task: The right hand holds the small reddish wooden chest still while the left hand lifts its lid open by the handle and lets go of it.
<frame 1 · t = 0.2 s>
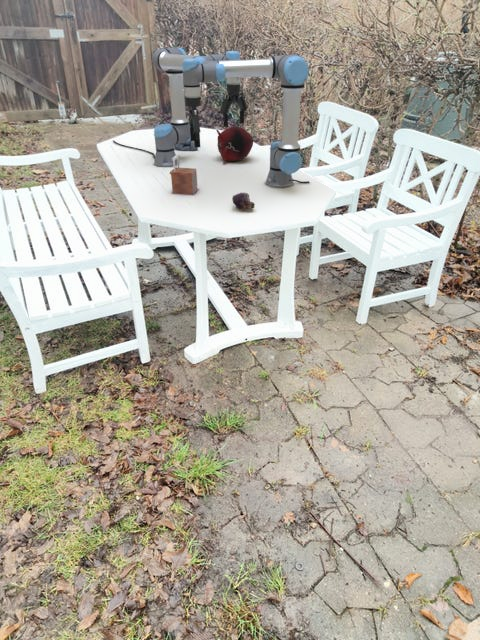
left hand: (234, 125, 259), 28 cm above the table, tool pointing down, fingers open, 13 cm apart
right hand: (195, 144, 223), 28 cm above the table, tool pointing down, fingers open, 13 cm apart
chest: (185, 191, 249), on the table
decorative skull: (234, 159, 302), on the table
rock: (242, 209, 226), on the table
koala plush: (186, 148, 327), on the table
lid: (182, 164, 241), point 15 cm above the table, hinge at 0.0°
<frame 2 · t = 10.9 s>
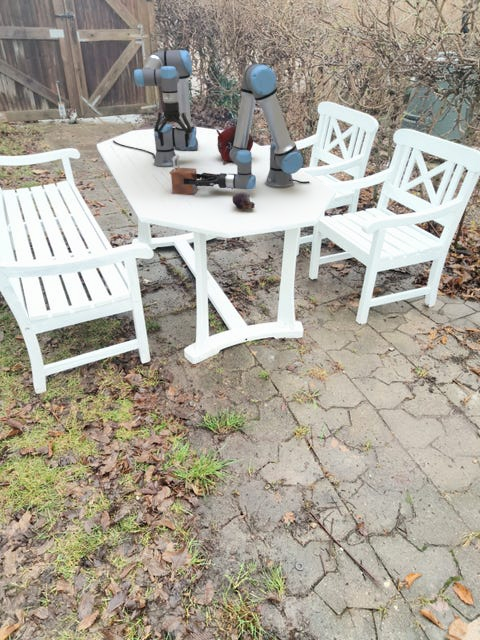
left hand: (174, 146, 236), 24 cm above the table, tool pointing down, fingers open, 13 cm apart
right hand: (186, 178, 245), 7 cm above the table, tool horizontal, fingers closed on chest, 9 cm apart
chest: (185, 191, 249), on the table, touching right hand
everything else where it was.
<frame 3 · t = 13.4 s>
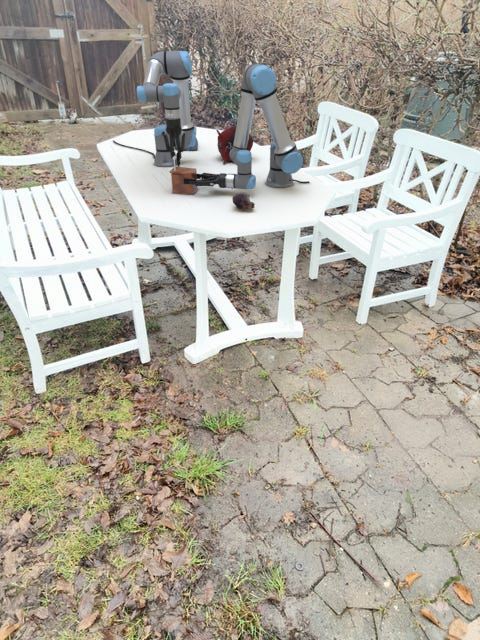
left hand: (176, 165, 242), 14 cm above the table, tool pointing down, fingers closed on lid, 2 cm apart
right hand: (186, 178, 245), 7 cm above the table, tool horizontal, fingers closed on chest, 9 cm apart
chest: (185, 191, 249), on the table, touching right hand
lid: (183, 163, 240), point 15 cm above the table, hinge at 2.5°, touching left hand
everything else where it was.
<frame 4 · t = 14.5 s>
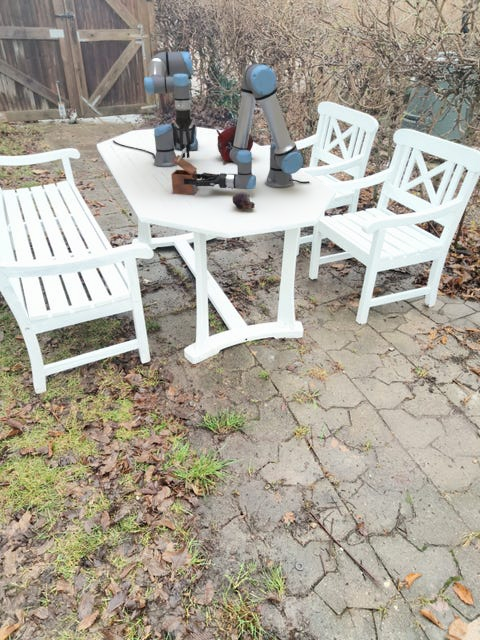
left hand: (186, 157, 238), 18 cm above the table, tool pointing down, fingers closed on lid, 2 cm apart
right hand: (186, 178, 245), 7 cm above the table, tool horizontal, fingers closed on chest, 9 cm apart
chest: (185, 191, 249), on the table, touching right hand
lid: (188, 159, 238), point 18 cm above the table, hinge at 34.8°, touching left hand
everything else where it was.
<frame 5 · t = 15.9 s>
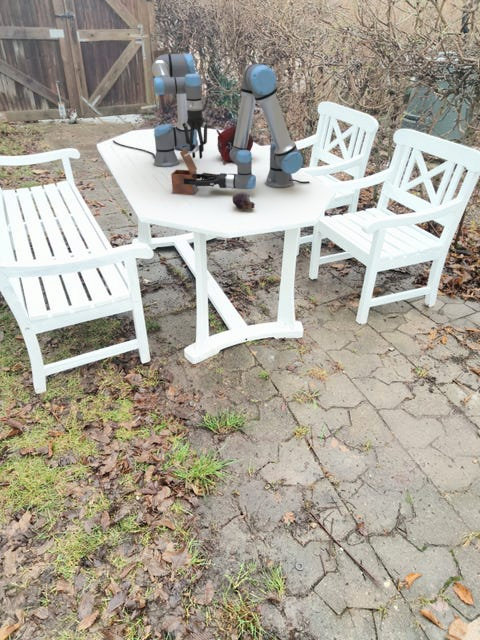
left hand: (197, 157, 237), 19 cm above the table, tool pointing down, fingers open, 3 cm apart
right hand: (186, 178, 245), 7 cm above the table, tool horizontal, fingers closed on chest, 9 cm apart
chest: (185, 191, 249), on the table, touching right hand
lid: (194, 158, 237), point 18 cm above the table, hinge at 64.3°
everything else where it was.
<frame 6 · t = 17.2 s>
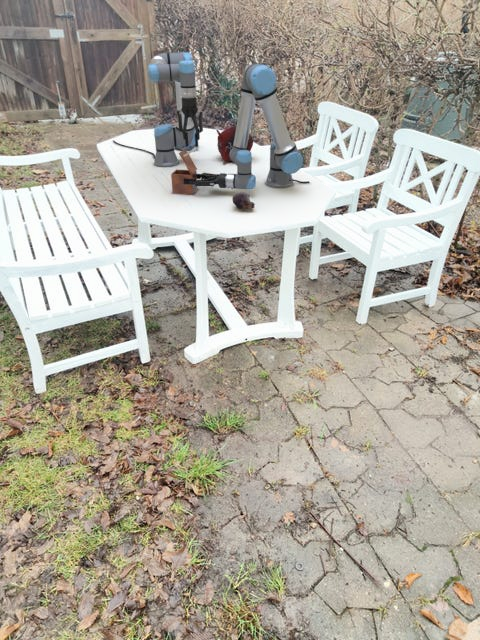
left hand: (192, 146, 234), 24 cm above the table, tool pointing down, fingers open, 5 cm apart
right hand: (186, 178, 245), 7 cm above the table, tool horizontal, fingers closed on chest, 9 cm apart
chest: (185, 191, 249), on the table, touching right hand
lid: (193, 158, 238), point 18 cm above the table, hinge at 61.5°
everything else where it was.
when the right hand's fingers open (7 cm above the table, at t = 19.9 s): chest stays where it is, on the table.
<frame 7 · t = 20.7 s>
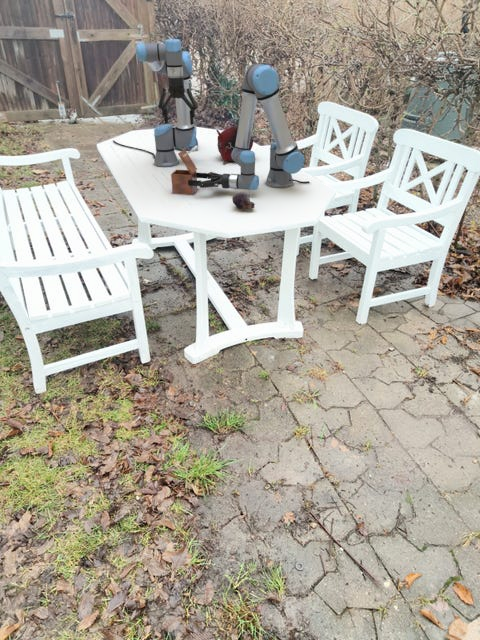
left hand: (179, 123, 229), 35 cm above the table, tool pointing down, fingers open, 13 cm apart
right hand: (192, 178, 244), 7 cm above the table, tool horizontal, fingers open, 13 cm apart
chest: (185, 191, 249), on the table
lid: (193, 158, 238), point 18 cm above the table, hinge at 59.6°
everything else where it was.
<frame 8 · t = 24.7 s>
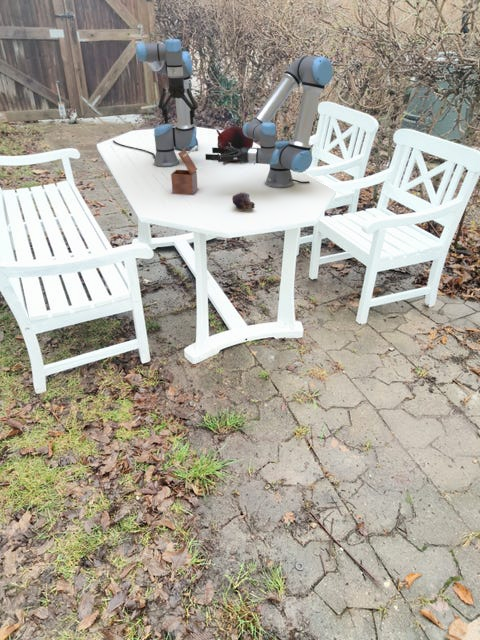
left hand: (179, 123, 229), 35 cm above the table, tool pointing down, fingers open, 13 cm apart
right hand: (209, 153, 234), 21 cm above the table, tool horizontal, fingers open, 13 cm apart
nothing on the table moved.
at the end: lid at +60° (first picture: +0°); the left hand is holding nothing; the right hand is holding nothing; chest tilted 0°; chest never tilted more than 1° during the clip; chest moved 0.0 cm from its start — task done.
